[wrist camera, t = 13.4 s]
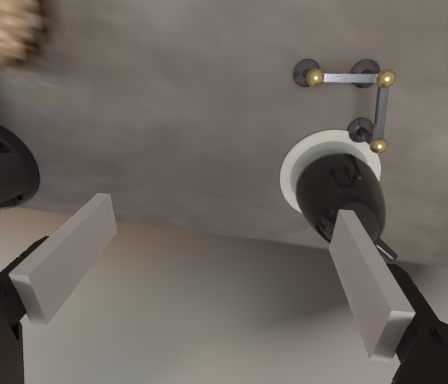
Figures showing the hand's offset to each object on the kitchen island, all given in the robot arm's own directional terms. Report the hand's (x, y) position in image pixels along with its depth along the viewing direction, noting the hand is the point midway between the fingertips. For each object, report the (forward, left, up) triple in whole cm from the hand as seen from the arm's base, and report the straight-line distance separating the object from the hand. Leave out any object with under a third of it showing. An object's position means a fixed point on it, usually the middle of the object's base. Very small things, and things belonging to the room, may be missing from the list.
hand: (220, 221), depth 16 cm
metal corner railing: (+11, +3, -26) cm, 28 cm away
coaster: (+12, -8, -26) cm, 30 cm away
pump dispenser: (+12, -8, -25) cm, 29 cm away
